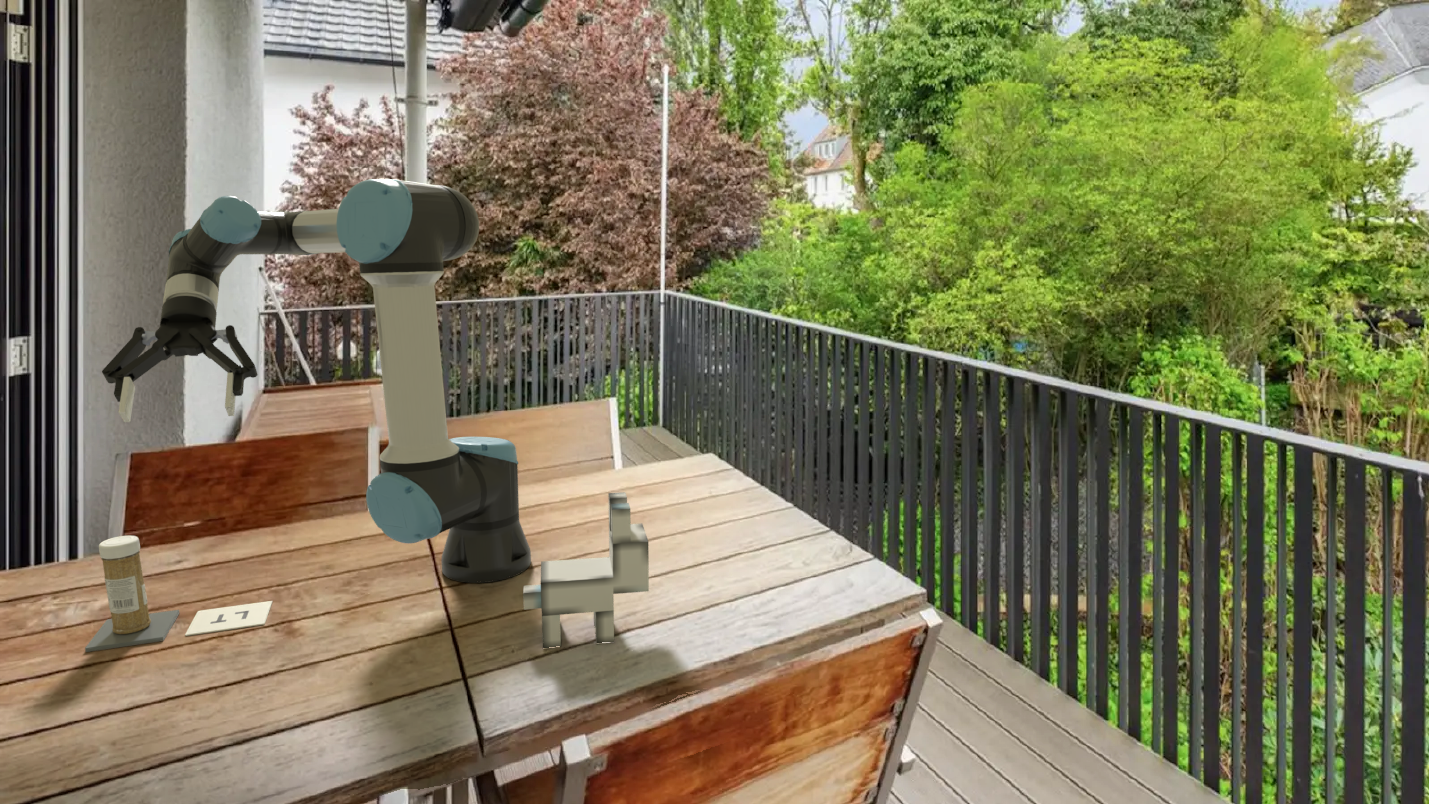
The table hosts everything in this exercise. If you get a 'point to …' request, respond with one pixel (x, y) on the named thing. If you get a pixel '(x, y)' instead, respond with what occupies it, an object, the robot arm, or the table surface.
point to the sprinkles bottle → (125, 584)
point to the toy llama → (593, 578)
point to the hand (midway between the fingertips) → (178, 414)
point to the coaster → (150, 634)
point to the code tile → (229, 618)
